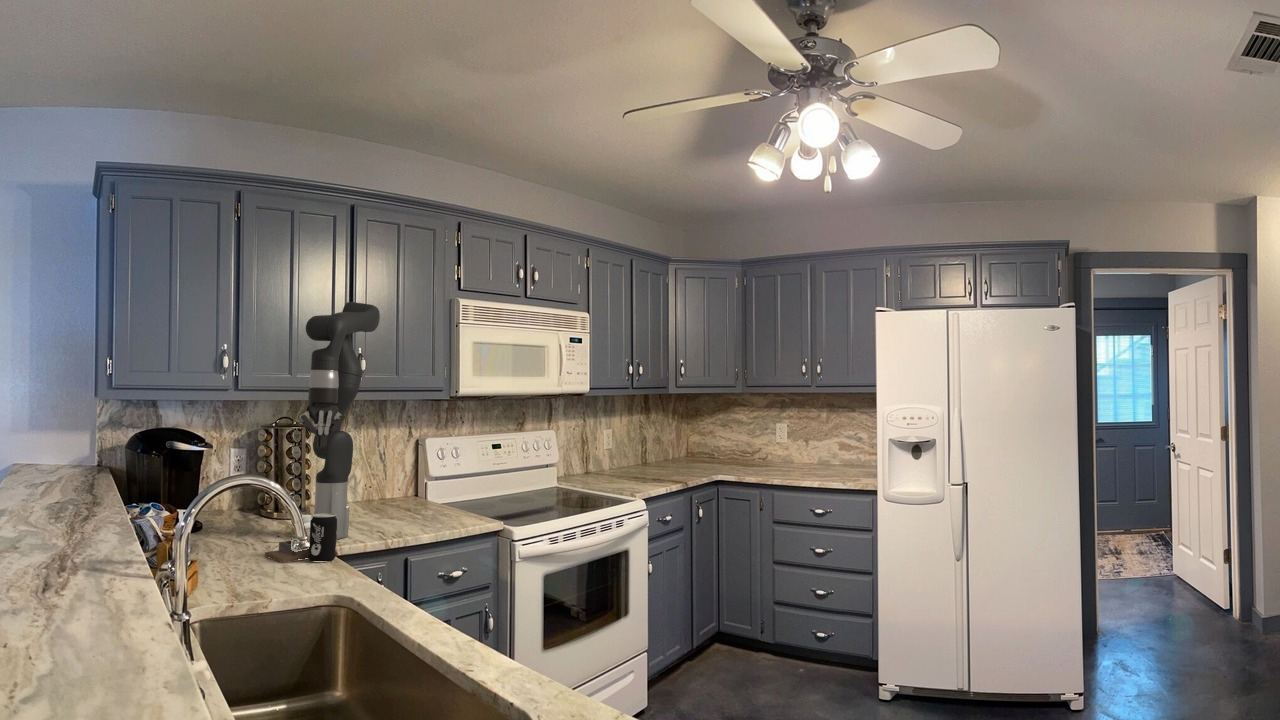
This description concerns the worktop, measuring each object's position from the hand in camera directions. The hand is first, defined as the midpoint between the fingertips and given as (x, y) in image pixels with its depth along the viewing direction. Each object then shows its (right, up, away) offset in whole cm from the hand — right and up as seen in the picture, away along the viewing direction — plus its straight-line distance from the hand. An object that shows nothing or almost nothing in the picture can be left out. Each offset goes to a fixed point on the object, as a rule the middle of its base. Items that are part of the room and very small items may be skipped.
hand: (320, 448), depth 196 cm
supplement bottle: (-3, -28, -5) cm, 28 cm away
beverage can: (+5, -29, -10) cm, 31 cm away
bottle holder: (-3, -29, -5) cm, 29 cm away
